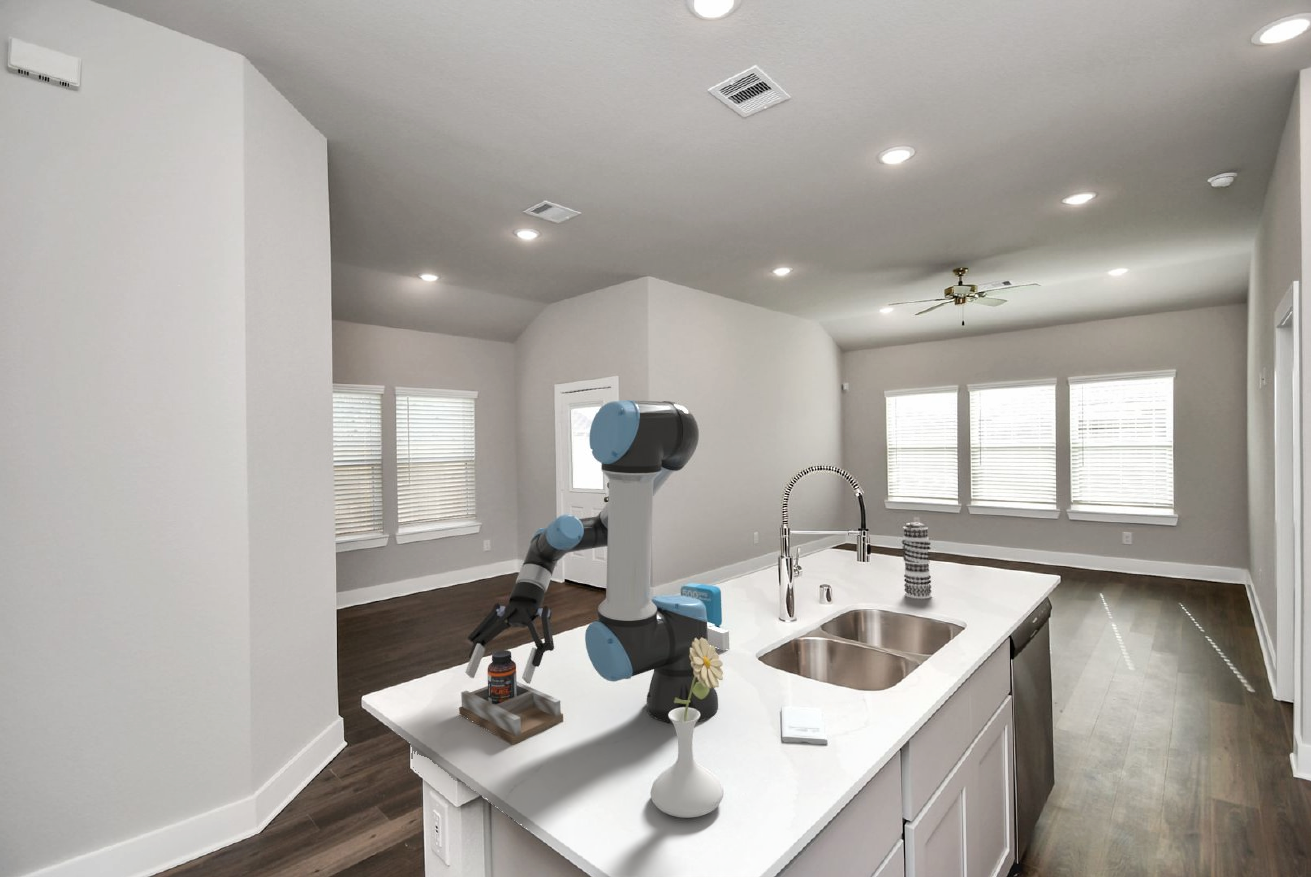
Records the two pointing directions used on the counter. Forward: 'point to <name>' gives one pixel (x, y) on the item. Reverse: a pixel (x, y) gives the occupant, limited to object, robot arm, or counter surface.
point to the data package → (706, 600)
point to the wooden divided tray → (512, 713)
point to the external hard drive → (803, 725)
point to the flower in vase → (690, 747)
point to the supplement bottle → (501, 677)
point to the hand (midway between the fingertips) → (497, 678)
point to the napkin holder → (717, 637)
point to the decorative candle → (916, 561)
